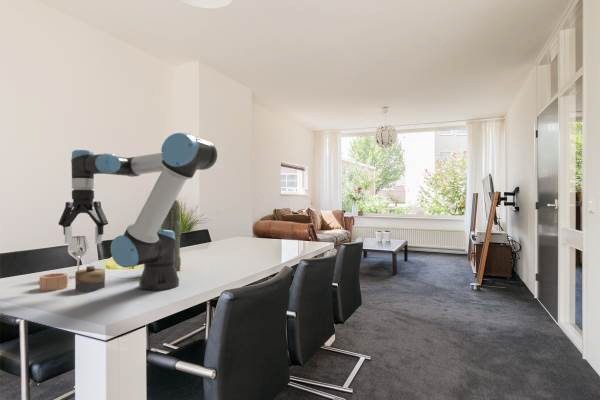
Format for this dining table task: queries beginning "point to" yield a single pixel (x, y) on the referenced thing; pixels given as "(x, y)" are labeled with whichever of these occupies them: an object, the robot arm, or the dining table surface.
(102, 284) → the stand
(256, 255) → the dining table surface
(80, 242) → the wineglass
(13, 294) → the dining table surface
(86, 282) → the lid
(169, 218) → the thermos
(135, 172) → the robot arm
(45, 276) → the bowl
